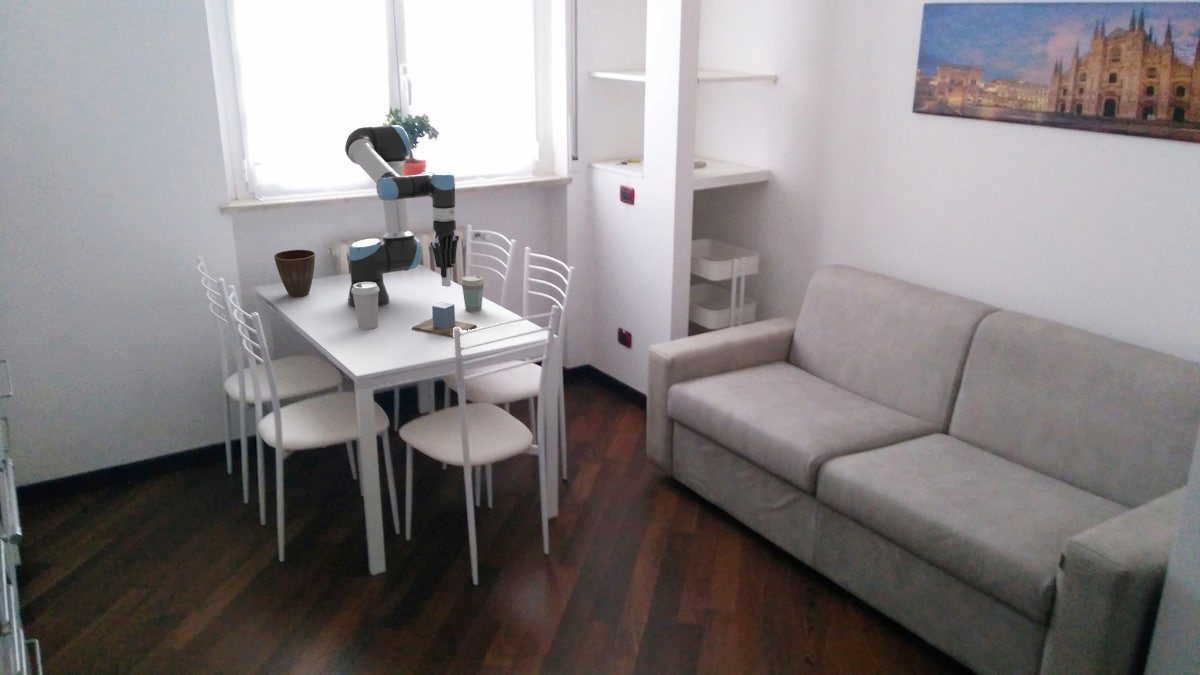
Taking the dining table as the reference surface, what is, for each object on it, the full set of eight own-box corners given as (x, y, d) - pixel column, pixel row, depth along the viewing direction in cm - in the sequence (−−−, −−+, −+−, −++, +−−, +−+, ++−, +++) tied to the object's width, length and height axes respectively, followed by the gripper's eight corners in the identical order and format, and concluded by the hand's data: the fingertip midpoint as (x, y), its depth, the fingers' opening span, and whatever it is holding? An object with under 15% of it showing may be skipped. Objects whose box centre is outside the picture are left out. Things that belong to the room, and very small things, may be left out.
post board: (412, 329, 318) (411, 308, 316) (435, 318, 329) (434, 299, 327) (454, 337, 310) (453, 317, 308) (476, 327, 321) (475, 307, 319)
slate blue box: (433, 326, 318) (432, 305, 316) (442, 322, 323) (441, 301, 320) (445, 329, 316) (444, 308, 313) (455, 325, 320) (454, 304, 318)
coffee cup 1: (358, 321, 325) (355, 280, 320) (385, 322, 325) (382, 281, 320) (350, 330, 316) (347, 288, 311) (378, 331, 316) (375, 289, 311)
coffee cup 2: (480, 313, 336) (479, 282, 332) (458, 311, 338) (457, 280, 334) (488, 306, 344) (487, 275, 340) (466, 305, 345) (465, 274, 342)
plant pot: (302, 302, 346) (298, 260, 341) (269, 297, 351) (265, 256, 346) (326, 291, 359) (323, 251, 354) (294, 287, 364) (291, 248, 359)
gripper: (441, 224, 302) (443, 292, 310) (465, 216, 313) (466, 282, 321) (423, 220, 305) (425, 288, 314) (447, 213, 316) (449, 279, 325)
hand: (446, 285), depth 317 cm, fingers closed
